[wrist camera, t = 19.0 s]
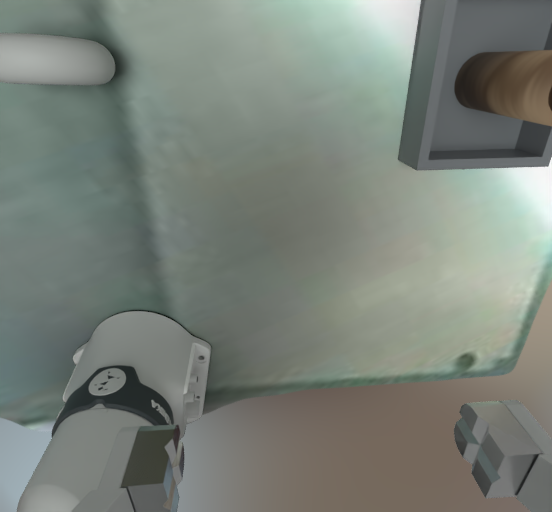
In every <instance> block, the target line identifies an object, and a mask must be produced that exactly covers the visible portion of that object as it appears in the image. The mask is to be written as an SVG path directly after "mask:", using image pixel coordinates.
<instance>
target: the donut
mask: <svg viewBox="0 0 552 512" xmlns="http://www.w3.org/2000/svg"><path fill="white" fill-rule="evenodd" d="M114 73H115V62H114V59H113V57H112V55H111V53H110V52H109V51H108V50H107V49H106V48H105V47H104V46H103V45H101V44H99V43H97V42H95V41H91V40H86V39H81V38H73V37H65V36H55V35H42V34H25V33H0V82H4V83H13V84H40V85H100V84H105V83H107V82H109V81H110V80H111V79H112V77H113V76H114Z"/></svg>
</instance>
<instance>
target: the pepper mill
mask: <svg viewBox="0 0 552 512" xmlns="http://www.w3.org/2000/svg"><path fill="white" fill-rule="evenodd" d="M454 89H455V96H456V98H457V100H458V102H459V103H460V104H461V105H463V106H464V107H466V108H470V109H475V110H479V111H484V112H488V113H493V114H498V115H502V116H507V117H511V118H516V119H520V120H525V121H529V122H534V123H538V124H543V125H547V126H552V50H537V51H504V52H483V53H479V54H476V55H474V56H473V57H471V58H470V59H469V60H467V61H466V62H465V63H464V65H463V66H462V67H461V69H460V70H459V72H458V74H457V77H456V80H455V87H454Z"/></svg>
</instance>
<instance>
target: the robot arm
mask: <svg viewBox="0 0 552 512" xmlns="http://www.w3.org/2000/svg"><path fill="white" fill-rule="evenodd" d="M201 356H203V357H201ZM210 356H211V346H210V344H209V343H207V342H205V341H203V340H201V339H199V338H196V337H194V336H192V335H191V334H189V333H188V332H187V331H186V330H185V329H184V328H183V327H182V326H181V325H179V324H178V323H176V322H175V321H173V320H171V319H169V318H167V317H165V316H162V315H159V314H156V313H151V312H144V311H131V312H124V313H120V314H117V315H114V316H112V317H110V318H108V319H106V320H105V321H103V322H102V323H101V324H100V325H99V326H98V327H97V328H96V329H95V331H94V332H93V334H92V336H91V338H90V340H89V341H88V342H87V343H86V344H84V345H82V346H81V347H80V348H78V349H77V350H76V352H75V354H74V356H73V361H74V363H75V364H76V367H75V369H74V371H73V374H72V376H71V378H70V380H69V383H68V385H67V387H66V389H65V392H64V394H63V401H65V405H64V406H63V407H62V409H61V410H60V412H59V414H58V416H57V419H56V423H55V425H54V427H53V430H52V439H51V441H50V443H49V445H48V447H47V449H46V451H45V452H44V454H43V456H42V458H41V460H40V462H39V463H38V465H37V467H36V469H35V471H34V473H33V475H32V477H31V479H30V480H29V482H28V484H27V486H26V488H25V490H24V492H23V494H22V496H21V498H20V500H19V503H18V507H17V512H177V508H178V501H179V494H178V490H177V485H178V484H179V483H180V482H181V480H182V477H183V470H184V447H183V443H182V442H181V441H180V439H181V438H182V437H183V436H184V434H185V429H186V424H189V423H191V422H194V421H196V420H198V419H200V418H201V416H202V413H203V409H204V401H205V394H206V386H207V379H208V371H209V363H210ZM460 414H461V416H462V418H461V419H460V420H459V421H458V422H456V425H455V428H454V435H455V442H456V444H457V447H458V450H459V451H460V453H461V455H462V457H463V458H464V459H465V460H467V461H468V462H469V463H471V464H472V475H473V476H474V478H475V480H476V482H477V484H478V486H479V487H480V489H481V491H482V493H483V494H484V496H485V498H497V497H513V496H514V497H515V496H517V498H516V499H518V500H519V501H520V502H521V503H522V504H523V505H525V506H526V507H527V508H528V509H529V510H530V511H531V512H552V439H551V438H550V436H549V435H548V434H547V433H546V432H545V430H544V429H543V428H542V427H541V426H540V424H539V423H538V422H537V421H536V420H535V418H534V417H533V416H532V415H531V414H530V412H529V411H528V410H527V409H526V408H525V407H524V405H523V404H522V403H521V402H519V401H517V400H508V401H489V402H479V403H466V404H464V405H463V406H462V407H461V410H460Z"/></svg>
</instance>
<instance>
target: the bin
mask: <svg viewBox="0 0 552 512" xmlns="http://www.w3.org/2000/svg"><path fill="white" fill-rule="evenodd" d="M537 50H552V0H421V6H420V13H419V20H418V27H417V33H416V40H415V47H414V54H413V61H412V68H411V74H410V81H409V88H408V95H407V102H406V109H405V115H404V122H403V129H402V136H401V143H400V150H399V157H398V160H400V161H401V162H403V163H405V164H407V165H408V166H410V167H412V168H414V169H415V170H444V169H478V168H512V167H545V166H548V165H549V163H550V160H551V157H552V126H547V125H543V124H538V123H534V122H529V121H525V120H520V119H516V118H511V117H507V116H502V115H498V114H493V113H488V112H484V111H479V110H475V109H470V108H466V107H464V106H463V105H461V104H460V103H459V102H458V100H457V98H456V96H455V89H454V87H455V80H456V77H457V74H458V72H459V70H460V69H461V67H462V66H463V65H464V63H465V62H466V61H467V60H469V59H470V58H471V57H473V56H474V55H476V54H479V53H483V52H504V51H537Z"/></svg>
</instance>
